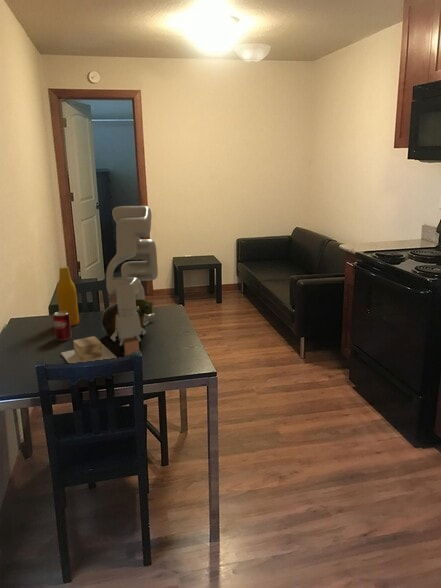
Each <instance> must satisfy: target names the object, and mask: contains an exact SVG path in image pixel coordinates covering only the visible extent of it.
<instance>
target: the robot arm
mask: <svg viewBox="0 0 441 588" xmlns="http://www.w3.org/2000/svg"><path fill="white" fill-rule="evenodd" d="M111 211H112V212H111V214H112V218H113V220H114V222H115V224H116V226H115V227H116V228H115V230H116V231H115V233H116V236H115V237H116V239H115V240H116V254H115V255H114V256H113V258H111V260H109V261H110V262H109V263H108V265H107V268H106V278H105V279H106V285H105V286H106V290H107V291H106V292H107V293H108V294H109V295H111V296H116V303H117V306H118V314H117V315H116V320H115V332H114V334H113V335H112V336H111V337H110V336H109V337H110V339H111V340H112V341H113V342H115V343H116V344H117V345H118V352H119V353H120V354H122V355H123V354H124V346H123V341H124V339H126V338H131V337H135V338H136V339H137V340H138V341H139V351H140V350H141V341H142V339H143V338H144V337H145V334H147V329H146V328H145V329H143V328H142V327H141V325H140V319H139V315H138V313H137V310H139V306H138V307H137V306H136V300H139V299H142V300H145V289H144V286H143V285H142V281H154V280H156V279H157V278H158V274H159V269H158V256H157V246H156V243H155V241H154V240H153V239H151V238H150V239H149V238H148V239H147V237H149V236H150V233H151V231H152V229H151V228H152V210H151V208H150V207H149V206H148V205H121V206H115V207H114V208H113V209H112V210H111ZM142 238H143V239H142ZM144 238H145V239H144ZM128 260H133V261H128ZM134 260H135V261H134ZM140 260H141V261H140ZM125 261H127V262H125ZM122 263H123V264H122ZM120 264H121V267H120V273H121V277H120V276H119V277H114V272H115V269H116V268H117V267H118V266H119V265H120ZM145 301H146V300H145ZM155 317H156V315H155V313H152V314H150V315H147V314H145V317H144V318H143V319H144V322H143V324H144V327H145V326H147V325H148V324H149V323H150V320H149V319H150V318H151V319H152V318H155ZM141 331H142V332H141ZM116 336H117V337H118V339H117V337H116Z"/></svg>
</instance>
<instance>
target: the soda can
mask: <svg viewBox="0 0 441 588" xmlns="http://www.w3.org/2000/svg"><path fill="white" fill-rule="evenodd" d="M52 319H53V320H52V321H53V329H54V337H55V340H57V341H62V342H63V341H68V340H70V339H71V338H72V335H73V334H72V326H71V324H70V314H69V313H68V312H66V311H61V312H59V311H56V312H54V313H53V315H52Z"/></svg>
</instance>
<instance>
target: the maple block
mask: <svg viewBox="0 0 441 588" xmlns="http://www.w3.org/2000/svg"><path fill="white" fill-rule="evenodd" d="M72 342H73V350H74V352H75V355H76V356H77V357H78V358H79V359H80V361H83V360H87V359H92V358H96V357H100V356H102V345H101V344H102V341H101V340H99V338H97V337H96V336H95V335H93V336H88V337H83V338H79V339H74V340H73V341H72Z"/></svg>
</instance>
